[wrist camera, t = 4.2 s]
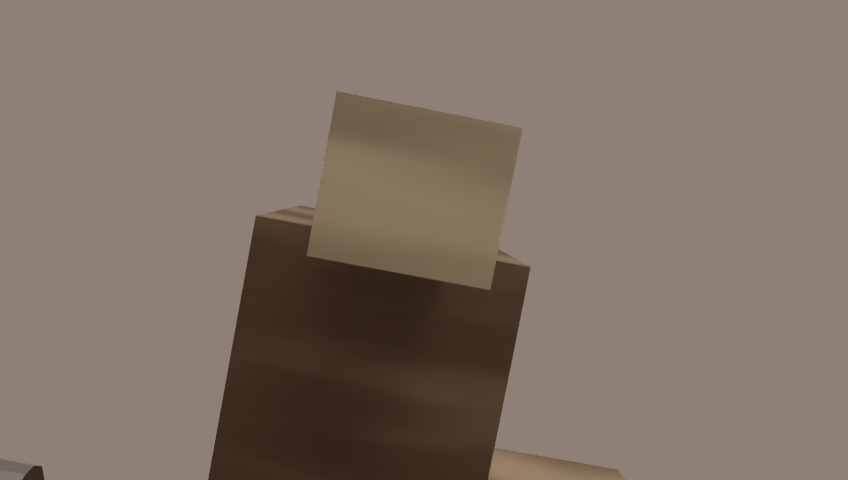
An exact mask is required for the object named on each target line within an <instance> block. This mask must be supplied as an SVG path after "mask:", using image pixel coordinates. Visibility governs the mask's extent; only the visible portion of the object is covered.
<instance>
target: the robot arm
mask: <svg viewBox="0 0 848 480" xmlns="http://www.w3.org/2000/svg"><path fill="white" fill-rule="evenodd" d="M0 480H44V475H43V470H42V467H41V466H37V465H32V464H26V463H20V462H15V461H9V460H4V459H0Z"/></svg>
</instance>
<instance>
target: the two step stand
mask: <svg viewBox="0 0 848 480" xmlns="http://www.w3.org/2000/svg"><path fill="white" fill-rule="evenodd" d="M314 212H315V208H309V207H305V206H298V207H293V208H288V209H284V210H279V211H274V212H270V213H265V214H261V215H257V216H256V218H255V224H254V229H253V235H252V240H251V246H250V251H249V257H248V262H247V268H246V274H245V279H244V285H243V290H242V296H241V302H240V307H239V313H238V318H237V324H236V329H235V334H234V340H233V345H232V351H231V357H230V362H229V368H228V374H227V379H226V385H225V390H224V395H223V401H222V407H221V412H220V418H219V423H218V429H217V434H216V440H215V446H214V451H213V456H212V462H211V468H210V473H209V479H208V480H625V479H624V477H623V476H622V475H621V474H620V473H619V471H618V470H617V469H611V468H604V467H599V466H594V465H587V464H582V463H577V462H571V461H565V460H559V459H553V458H548V457H542V456H536V455H531V454H525V453H519V452H514V451H508V450H502V449H496V448H494V447H495V442H496V437H497V432H498V427H499V422H500V417H501V412H502V407H503V401H504V397H505V392H506V387H507V382H508V377H509V372H510V367H511V362H512V357H513V352H514V347H515V342H516V337H517V331H518V327H519V322H520V317H521V312H522V307H523V302H524V297H525V292H526V287H527V282H528V276H529V272H530V267H529V266H527V265H525V264H524V263H522V262H520V261H518V260H517V259H515V258H513V257H511V256H509V255H508V254H506V253H504V252H502V251H500V250H499V249H498V254H497V259H496V264H495V269H494V274H493V279H492V284H491V289H490V290H487V289H482V288H477V287H471V286H466V285H460V284H455V283H450V282H444V281H439V280H434V279H428V278H423V277H417V276H412V275H407V274H401V273H396V272H391V271H385V270H380V269H375V268H369V267H364V266H358V265H353V264H348V263H342V262H337V261H332V260H326V259H321V258H316V257H310V256H307V250H308V245H309V240H310V234H311V229H312V223H313V218H314Z"/></svg>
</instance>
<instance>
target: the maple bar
mask: <svg viewBox="0 0 848 480" xmlns="http://www.w3.org/2000/svg"><path fill="white" fill-rule="evenodd" d="M521 132H522V128H519V127H514V126H509V125H504V124H499V123H494V122H489V121H484V120H479V119H474V118H469V117H464V116H459V115H454V114H449V113H444V112H439V111H434V110H429V109H424V108H419V107H414V106H409V105H403V104H398V103H393V102H388V101H383V100H378V99H373V98H368V97H363V96H358V95H353V94H348V93H343V92H338V91H337V93H336V99H335V104H334V109H333V115H332V120H331V126H330V132H329V137H328V142H327V147H326V153H325V158H324V164H323V169H322V174H321V180H320V185H319V191H318V196H317V202H316V207H315V212H314V218H313V223H312V229H311V234H310V240H309V245H308V250H307V256H310V257H316V258H321V259H326V260H332V261H337V262H342V263H348V264H353V265H358V266H364V267H369V268H375V269H380V270H385V271H391V272H396V273H401V274H407V275H412V276H417V277H423V278H428V279H434V280H439V281H444V282H450V283H455V284H460V285H466V286H471V287H477V288H482V289H487V290H490V289H491V284H492V279H493V274H494V269H495V264H496V259H497V254H498V249H499V244H500V238H501V233H502V228H503V223H504V218H505V213H506V208H507V203H508V198H509V193H510V188H511V183H512V178H513V173H514V167H515V163H516V158H517V152H518V147H519V142H520V137H521Z"/></svg>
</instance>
